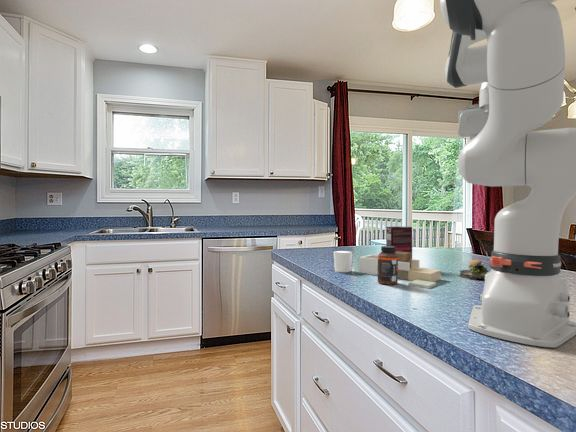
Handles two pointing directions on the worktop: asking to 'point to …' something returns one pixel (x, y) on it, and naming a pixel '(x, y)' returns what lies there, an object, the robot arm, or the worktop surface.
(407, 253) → the walnut block
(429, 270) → the trough
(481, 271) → the burger
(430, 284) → the coaster
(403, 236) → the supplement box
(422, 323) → the worktop surface
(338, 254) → the white cylinder
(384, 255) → the supplement bottle
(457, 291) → the worktop surface
